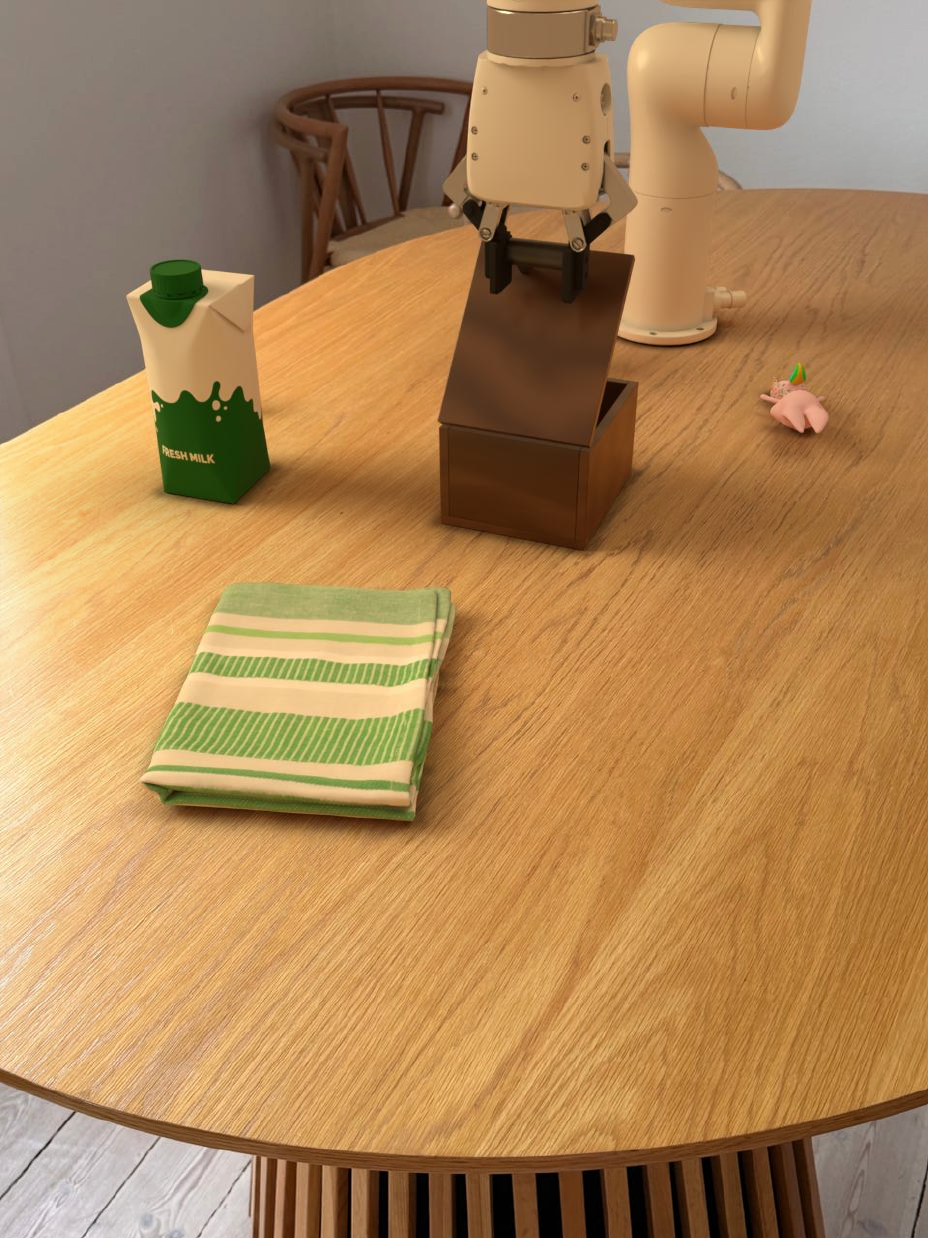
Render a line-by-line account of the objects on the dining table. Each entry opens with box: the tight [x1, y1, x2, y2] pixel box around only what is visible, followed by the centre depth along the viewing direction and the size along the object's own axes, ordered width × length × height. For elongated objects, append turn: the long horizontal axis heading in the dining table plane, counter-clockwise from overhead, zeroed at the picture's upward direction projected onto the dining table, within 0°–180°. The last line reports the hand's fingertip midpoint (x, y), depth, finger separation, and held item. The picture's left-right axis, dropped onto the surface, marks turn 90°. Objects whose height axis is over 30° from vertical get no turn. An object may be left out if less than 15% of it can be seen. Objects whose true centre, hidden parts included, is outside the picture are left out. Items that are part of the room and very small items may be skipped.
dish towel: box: [139, 581, 457, 822], centre depth 81 cm, size 18×23×3 cm
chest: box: [438, 377, 639, 551], centre depth 103 cm, size 15×13×9 cm
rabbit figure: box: [759, 362, 830, 434], centre depth 116 cm, size 6×6×15 cm
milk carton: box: [126, 258, 272, 505], centre depth 103 cm, size 9×9×20 cm
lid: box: [437, 236, 635, 448], centre depth 94 cm, size 15×13×5 cm
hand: (535, 290), depth 93 cm, fingers closed on lid, 5 cm apart
